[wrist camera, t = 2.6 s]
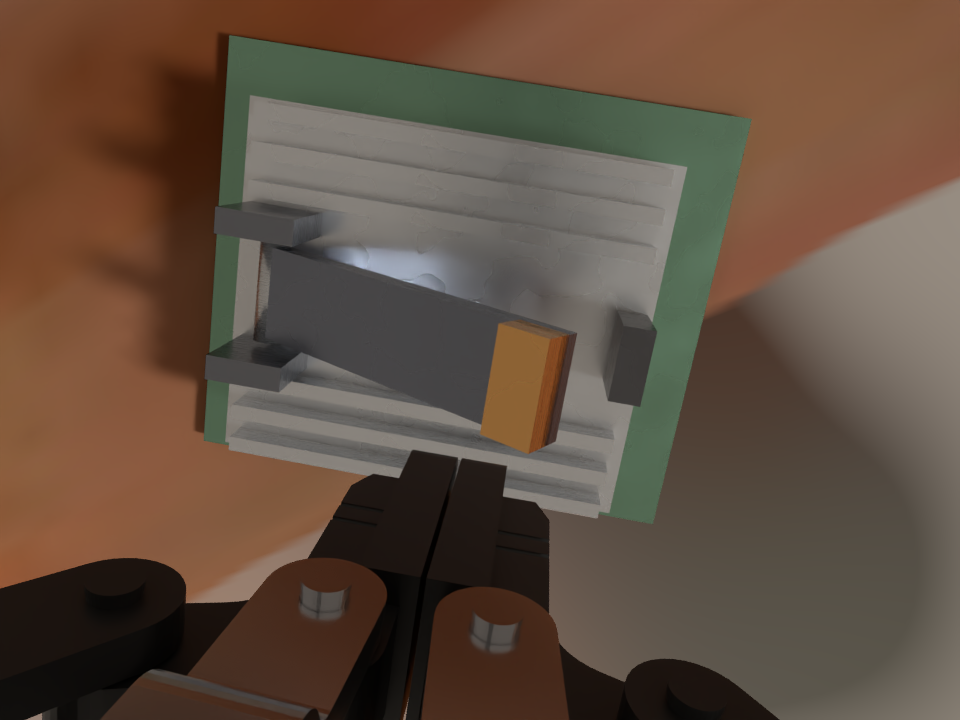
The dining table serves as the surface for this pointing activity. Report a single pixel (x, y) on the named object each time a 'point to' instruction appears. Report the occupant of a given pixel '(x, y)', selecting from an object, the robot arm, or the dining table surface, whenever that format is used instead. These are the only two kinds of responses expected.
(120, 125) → the dining table surface
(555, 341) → the lever
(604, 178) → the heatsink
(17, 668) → the robot arm
